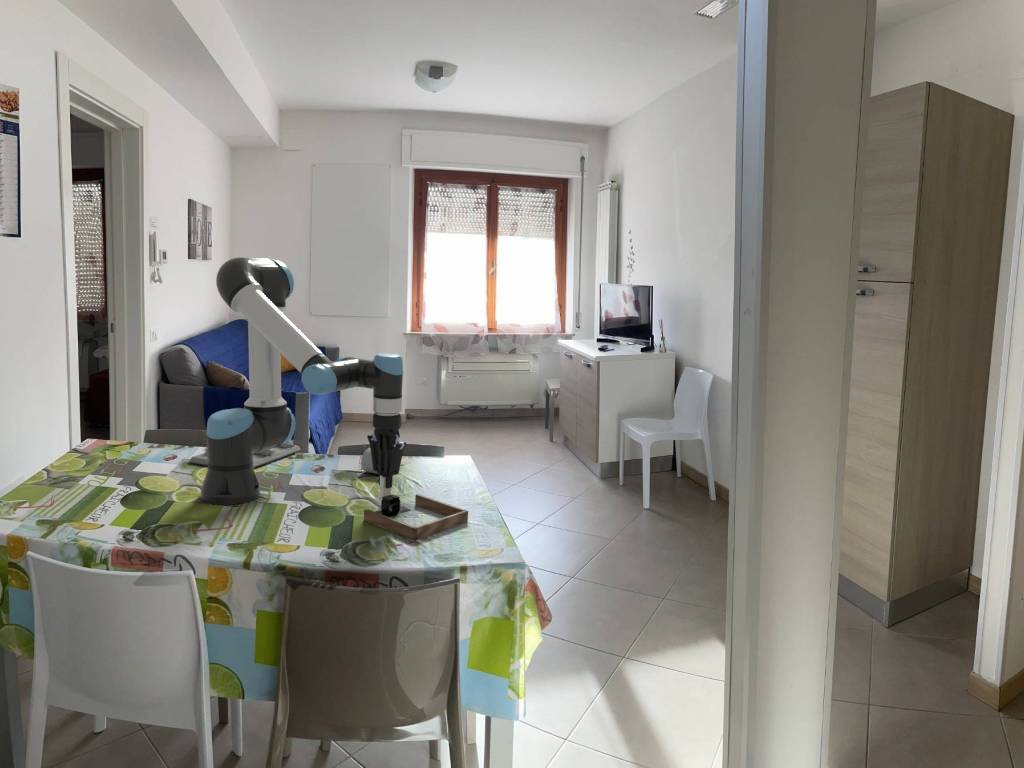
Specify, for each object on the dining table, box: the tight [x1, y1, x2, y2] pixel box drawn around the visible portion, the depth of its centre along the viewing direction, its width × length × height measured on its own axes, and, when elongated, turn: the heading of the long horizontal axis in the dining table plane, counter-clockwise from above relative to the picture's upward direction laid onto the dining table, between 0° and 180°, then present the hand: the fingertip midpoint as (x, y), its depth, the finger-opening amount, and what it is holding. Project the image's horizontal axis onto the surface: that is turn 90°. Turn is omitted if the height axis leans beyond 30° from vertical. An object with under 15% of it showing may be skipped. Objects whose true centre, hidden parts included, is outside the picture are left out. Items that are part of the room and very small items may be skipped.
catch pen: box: [363, 493, 469, 541], centre depth 192 cm, size 19×19×3 cm
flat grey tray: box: [189, 437, 302, 470], centre depth 242 cm, size 30×22×7 cm
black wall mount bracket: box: [374, 493, 412, 518], centre depth 198 cm, size 12×7×5 cm, turn 141°
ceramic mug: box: [360, 447, 378, 475], centre depth 233 cm, size 11×8×8 cm
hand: (385, 498), depth 199 cm, fingers closed
